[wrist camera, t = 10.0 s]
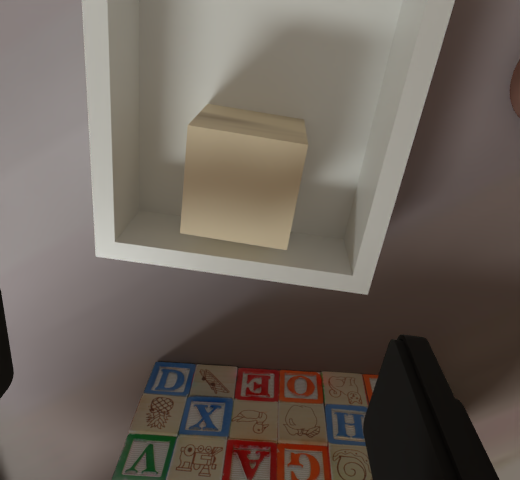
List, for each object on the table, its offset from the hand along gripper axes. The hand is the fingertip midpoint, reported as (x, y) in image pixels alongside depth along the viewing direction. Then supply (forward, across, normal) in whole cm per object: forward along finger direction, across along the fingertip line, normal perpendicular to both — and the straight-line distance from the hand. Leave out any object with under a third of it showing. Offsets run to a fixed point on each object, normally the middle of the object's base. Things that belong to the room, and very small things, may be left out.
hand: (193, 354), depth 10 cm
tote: (+16, 0, -5) cm, 16 cm away
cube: (+15, 0, -1) cm, 15 cm away
